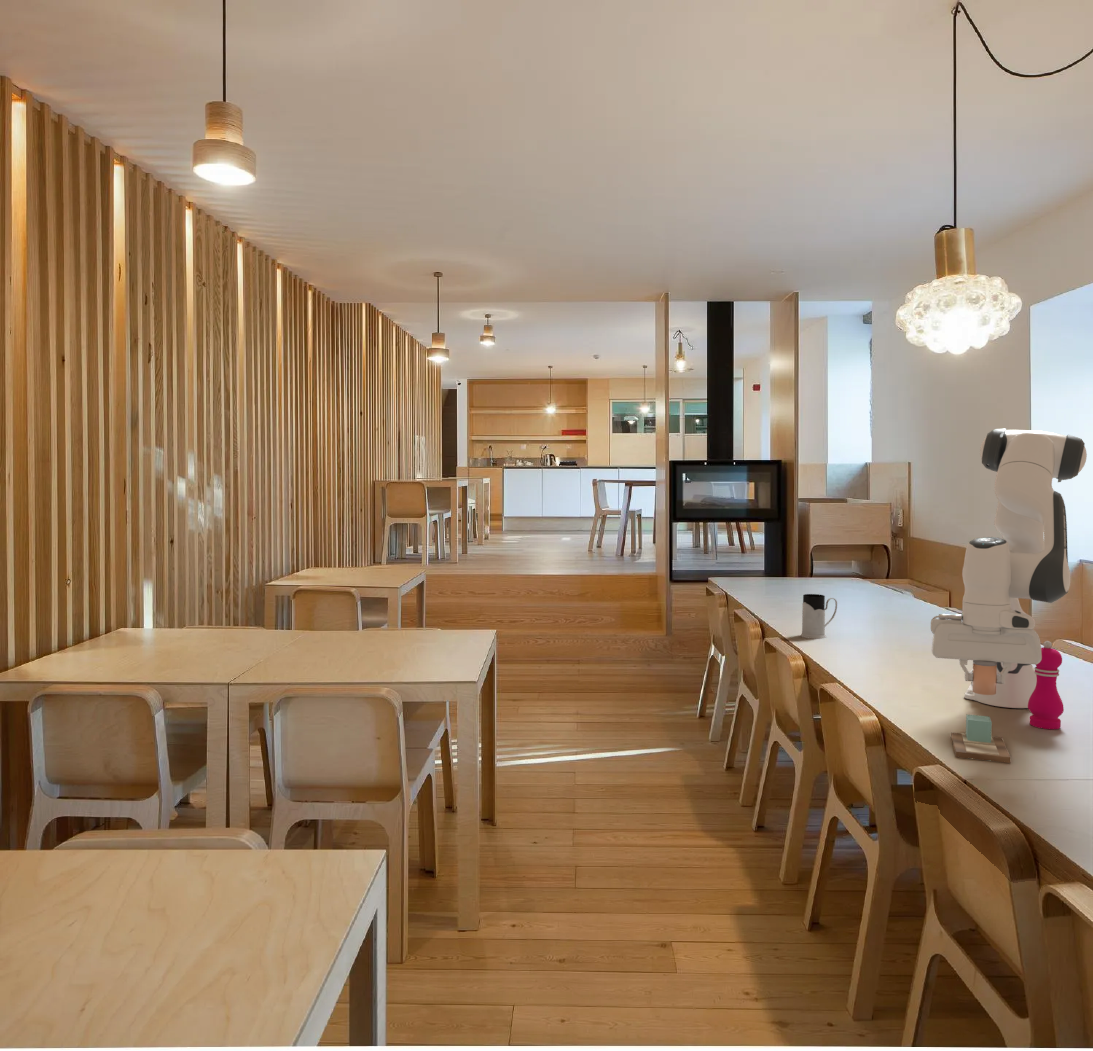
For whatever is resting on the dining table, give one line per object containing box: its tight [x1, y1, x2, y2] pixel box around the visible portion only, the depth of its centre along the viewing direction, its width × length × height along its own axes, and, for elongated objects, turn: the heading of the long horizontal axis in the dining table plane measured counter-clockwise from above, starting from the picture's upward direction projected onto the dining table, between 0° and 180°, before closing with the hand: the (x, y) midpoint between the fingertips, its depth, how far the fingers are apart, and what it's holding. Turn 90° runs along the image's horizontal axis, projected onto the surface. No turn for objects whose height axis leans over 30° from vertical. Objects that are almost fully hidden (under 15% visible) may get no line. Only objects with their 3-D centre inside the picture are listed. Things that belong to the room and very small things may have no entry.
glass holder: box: [800, 593, 838, 640], centre depth 306 cm, size 9×14×15 cm, turn 107°
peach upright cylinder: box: [972, 660, 997, 695], centre depth 175 cm, size 4×4×7 cm
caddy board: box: [950, 732, 1012, 764], centre depth 179 cm, size 14×10×1 cm
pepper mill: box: [1027, 640, 1065, 730], centre depth 196 cm, size 7×7×20 cm
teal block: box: [965, 713, 993, 743], centre depth 182 cm, size 4×4×4 cm
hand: (984, 681), depth 175 cm, fingers closed on peach upright cylinder, 4 cm apart
